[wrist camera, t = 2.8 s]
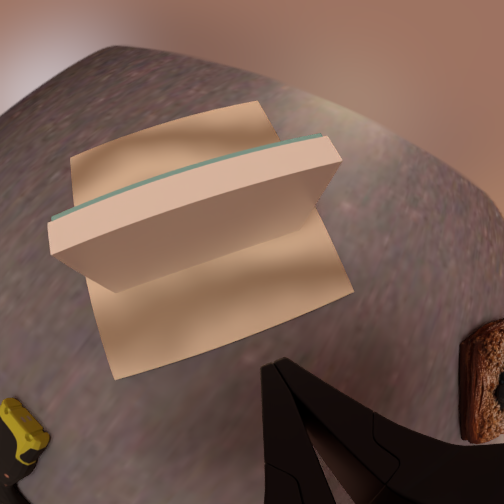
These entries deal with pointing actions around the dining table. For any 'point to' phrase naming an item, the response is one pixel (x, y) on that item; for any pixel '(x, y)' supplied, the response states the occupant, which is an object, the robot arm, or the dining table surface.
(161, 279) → the board
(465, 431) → the pastry
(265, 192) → the tile
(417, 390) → the dining table surface
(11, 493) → the stun gun
